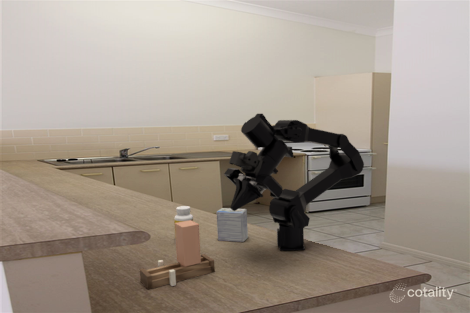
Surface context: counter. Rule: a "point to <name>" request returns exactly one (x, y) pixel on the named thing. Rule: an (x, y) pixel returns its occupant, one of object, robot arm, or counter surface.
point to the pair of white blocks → (171, 273)
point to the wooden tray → (161, 274)
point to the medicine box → (232, 224)
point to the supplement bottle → (182, 215)
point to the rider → (187, 243)
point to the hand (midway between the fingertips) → (232, 209)
